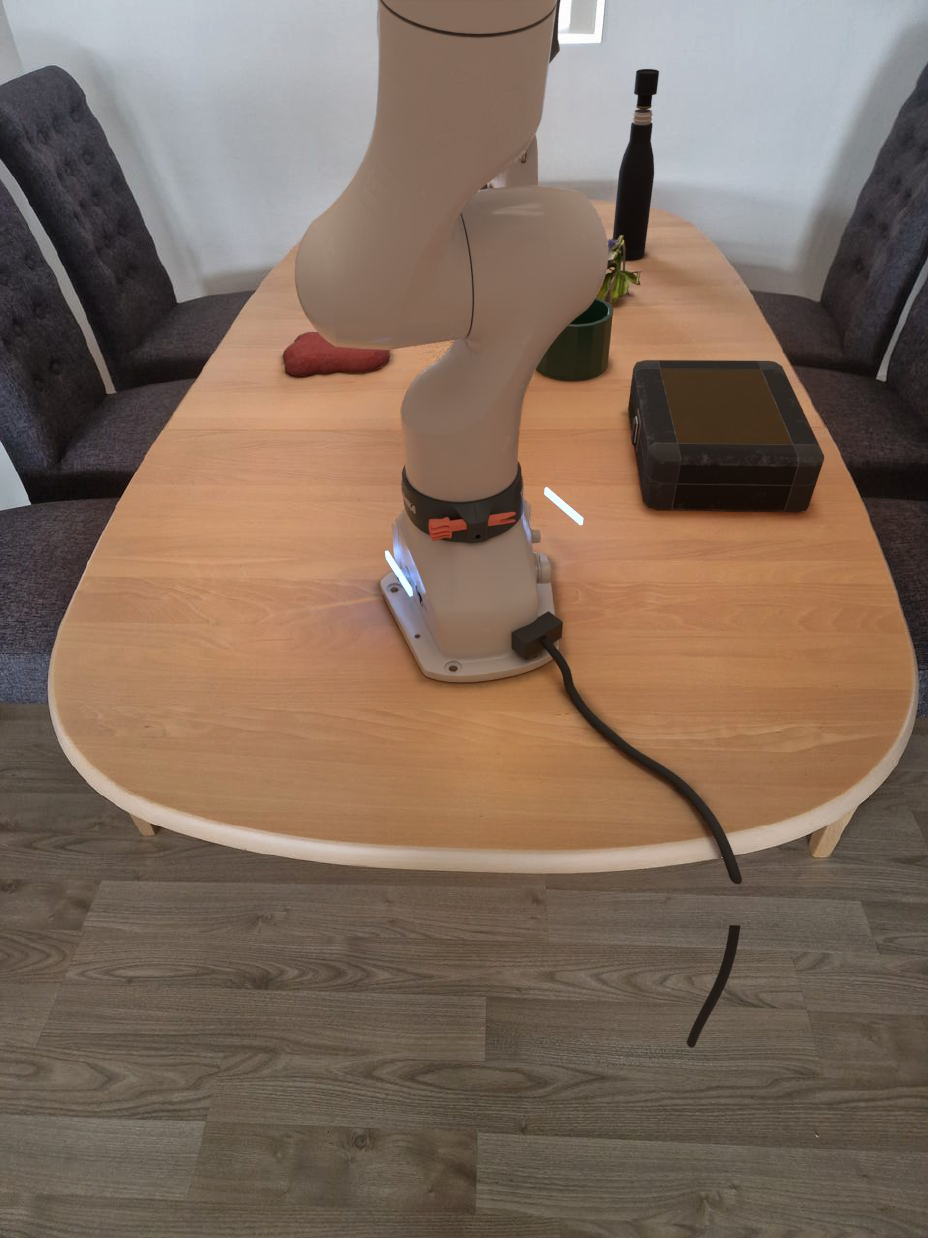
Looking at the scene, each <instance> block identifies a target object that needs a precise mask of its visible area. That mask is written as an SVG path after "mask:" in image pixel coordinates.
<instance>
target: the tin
mask: <svg viewBox="0 0 928 1238" xmlns="http://www.w3.org/2000/svg"><path fill="white" fill-rule="evenodd" d="M613 318H614V307H613V306H612V305H611V303H609V302H608V301H606V300H605V301H604V300H602V299H600V298H598V296H597V297H596V298H595V300H594V301H593V303H592V304H591V306H590V307H589V308H588V309H587V310H586V311H584V312H583V313H582V314H580V315H579V316H578V317H577V318H576V319H574V320H573V321H572V322H571V323H570V324H569V325H568V326H567V327H566V328H565V329H564V330H563V331H562V332H561V333H560V334H559V335H558V337H557V338H556V339H555V340H554V342H553V343H552V344H551V345H550V347H549V348H548V350H547V351H546V353H545V354H544V356H543V358H542V359H541V361H540V363H539V364H538V366H537V368H536V370H535V371H537V372H538V373H539V374H540V375H542V376H544V377H546V378H549V379H553V380H556V381H562V382H583V381H587V380H592V379H594V378H597V377H599V376H601V375H602V374H604V373H605V372H606V370H607V369H608V366H609V359H610V358H609V356H610V349H611V348H610V346H611V337H612V327H613Z"/></svg>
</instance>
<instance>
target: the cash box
mask: <svg viewBox="0 0 928 1238" xmlns="http://www.w3.org/2000/svg"><path fill="white" fill-rule="evenodd" d="M627 412H628V418H629V419H628V420H629V424H630V425H629V426H630V431H631V434H630V435H631V436H630V441H631V445H632V446H633V449H634V455H635V461H636V468H637V474H638V479H639V480H638V481H639V486H640V492H641V498H642V503H643V504H644V505H645V507H646V508H647V509H650V510H654V511H657V512H658V511H661V512H709V513H710V512H713V513H714V512H715V513H717V512H718V513H719V512H721V513H767V514H769V513H773V514H774V513H775V514H776V513H778V514H799V513H803V512H807V511H808V509H809V506H810V505H811V504H810V503H811V500H812V498H813V494H814V492H815V489H816V486H817V482H818V480H819V477H820V474H821V470H822V468H823V464H824V462H825V454H824V452H823V450H822V447H821V445H820V443H819V441H818V439H817V437H816V435H815V433H814V431H813V428H812V427H811V424H810V422H809V420H808V418H807V416H806V414H805V412H804V409H803V408H802V405H801V403H800V401H799V399H798V397H797V395H796V393H795V389H793V386H792V383H791V382H790V380H789V377H788V376H787V374H786V371H785V369H784V367H783V366H782V365H781V364H780V363H778V362H777V361H774V360H735V359H733V360H729V359H727V360H724V359H723V360H722V359H721V360H719V359H718V360H717V359H716V360H715V359H713V360H711V359H709V360H708V359H706V360H705V359H704V360H703V359H702V360H701V359H698V360H697V359H644V360H640V361H636V363H635V364H634V365H633V368H632V373H631V382H630V388H629V398H628V404H627Z"/></svg>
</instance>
